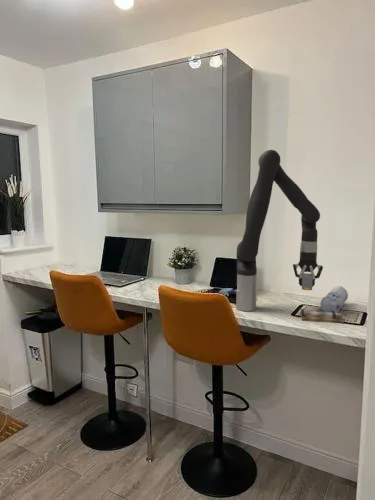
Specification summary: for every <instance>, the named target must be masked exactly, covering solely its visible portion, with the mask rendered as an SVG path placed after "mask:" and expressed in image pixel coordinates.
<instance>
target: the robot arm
mask: <svg viewBox="0 0 375 500" xmlns="http://www.w3.org/2000/svg"><path fill="white" fill-rule="evenodd" d="M258 166H259V167H258V168H259V169H258V172H257V174H258V175H257V179H256V182H255V184H254V186H253V189H252V192H251V194H250V198H249V201H248V205H247V208H246V218H245V229H244V234H243V235H242V240H241V241H239V243H238V244H237V246H236V285H237V291H236V295H235V296H236V300H235V301H236V302H235V306H236V308H235V310H237V311H242V312H253V311H256V310H257V278H258V277H257V275H258V274H257V273H258V271H257V262H256V261H257V256H258V255H259V248H260V247H259V245H260V240H261V239H260V238H261V233H262V231H263V227H264V224H265V221H266V218H267V216H268V215H267V214H268V211H269V207H270V202H271V198H272V197H271V196H272V191H273V184H274V183H275V184H276V185H277V187H278V188H279V189H280V190H281V192H282V193H283V194H284V196H285V197H286V198H287V199H288V201H289V203H290V204H291V205H292V206H293V207H294V208H295V209H296V210H297V211H298V212H299V213H300V214H301V217H300V221H301V239H300V240H301V241H300V248H299V250H300V251H299V261H298V263H293V264H292V268H293V271H294V276H295V277H297V279H298V285H299V286H300V287H302V275H303V274H304V273H311V275H312V276H313V282H312V288H313V287H315V284H316V279H320V276H321V274H322V271H323V269H324V266H323V265H320V264H318V260H317V259H318V258H317V257H318V234H319V233H318V230H317V222H319V220H320V219H321V213H320V210H319V209H318V208H317V207H316V206H315V204H314V203H312V201H310V200H309V198H308V197H307V196H306V194H305V193H304V191H303V190H302V189H301V188H300V186H299V185H298V184H297V183H296V182H295V181H294V180H293V179H292V178H291V177H290V176H289V175H288V174H287V173H286V172H285V170H284V169H283V167H282V166H281V155H280V154H279V152H277V150H275V149H268V150H266V151H264V152H263V153H262V154H260V156H259V157H258ZM298 268H300V269H301V270H300V273H298V270H297V269H298ZM316 268H317V273H316V275H315V272H314V271H315V269H316Z"/></svg>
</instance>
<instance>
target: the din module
mask: <svg viewBox="0 0 375 500" xmlns="http://www.w3.org/2000/svg"><path fill="white" fill-rule="evenodd" d="M312 282H313V276H312V275H311V272H304V274H303V275H302V286H301V290H304V291H313V287H312Z"/></svg>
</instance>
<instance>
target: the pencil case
mask: <svg viewBox="0 0 375 500" xmlns="http://www.w3.org/2000/svg"><path fill="white" fill-rule="evenodd" d="M348 294H349V293H348V291H347V289H346V288H344V286H342V285H341V286H339V285H337V286H334V287H332V288H331V289H330V291H329V292H327V294H326V295H325V296H323V297H322V299H321V300H320V308H321V309H322V312H332V311H334V312H335V313H340V309H342V308H343V307H344V304H345V302H347V301H348V298H349V295H348Z"/></svg>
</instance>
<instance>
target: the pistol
mask: <svg viewBox="0 0 375 500" xmlns="http://www.w3.org/2000/svg"><path fill="white" fill-rule="evenodd" d="M234 290H237V289H233V288H223V289H220V290H218V294H219V293H221V294H224V295H227V297H230V296H231V295H230V294H232V295H235V294H236V291H234ZM229 295H230V296H229Z"/></svg>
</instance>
